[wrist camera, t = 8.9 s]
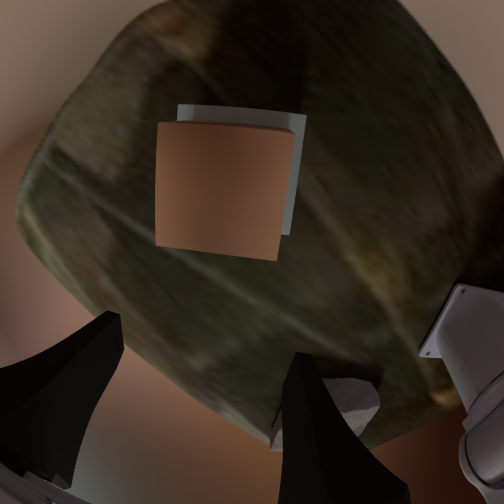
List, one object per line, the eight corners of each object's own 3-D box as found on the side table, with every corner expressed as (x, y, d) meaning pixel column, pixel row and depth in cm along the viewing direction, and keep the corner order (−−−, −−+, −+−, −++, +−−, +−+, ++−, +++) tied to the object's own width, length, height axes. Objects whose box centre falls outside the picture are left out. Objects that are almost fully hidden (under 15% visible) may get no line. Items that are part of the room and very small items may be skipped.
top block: (301, 115, 15) (306, 115, 13) (287, 218, 18) (289, 235, 15) (192, 105, 15) (178, 104, 13) (186, 207, 18) (173, 221, 15)
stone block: (377, 364, 28) (285, 372, 26) (395, 400, 23) (296, 415, 22) (339, 422, 33) (263, 430, 32) (349, 452, 29) (269, 464, 27)
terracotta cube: (288, 128, 13) (295, 133, 9) (276, 219, 15) (276, 261, 11) (192, 119, 13) (158, 122, 9) (186, 208, 15) (155, 245, 11)
